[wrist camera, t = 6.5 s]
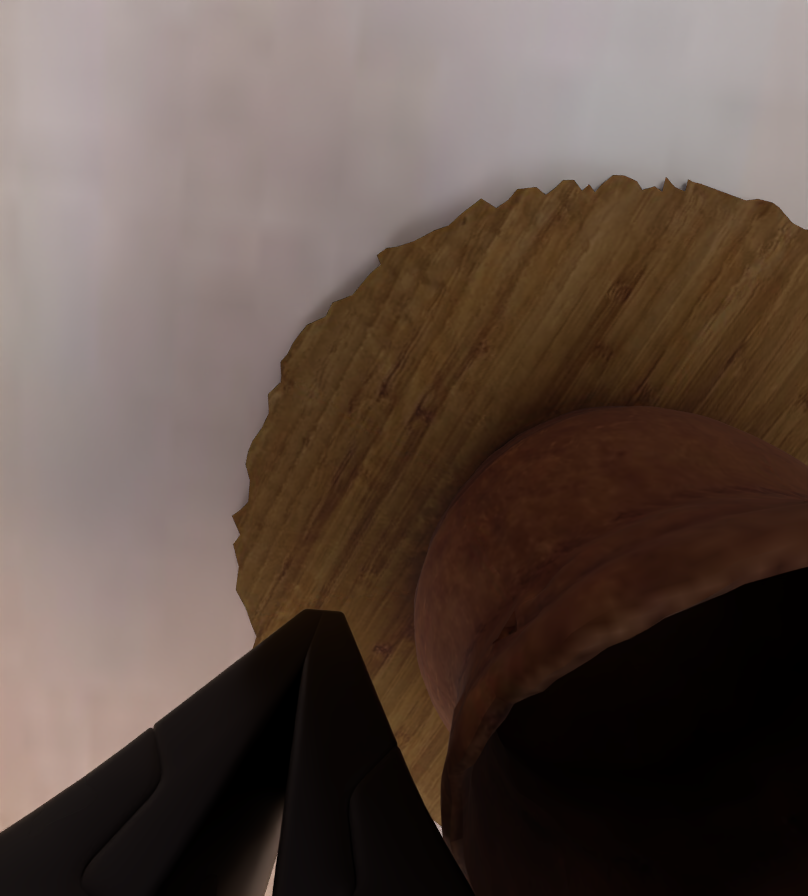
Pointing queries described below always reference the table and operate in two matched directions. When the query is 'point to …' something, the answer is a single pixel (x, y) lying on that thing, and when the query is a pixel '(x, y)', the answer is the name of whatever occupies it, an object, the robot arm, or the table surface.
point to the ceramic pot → (567, 532)
